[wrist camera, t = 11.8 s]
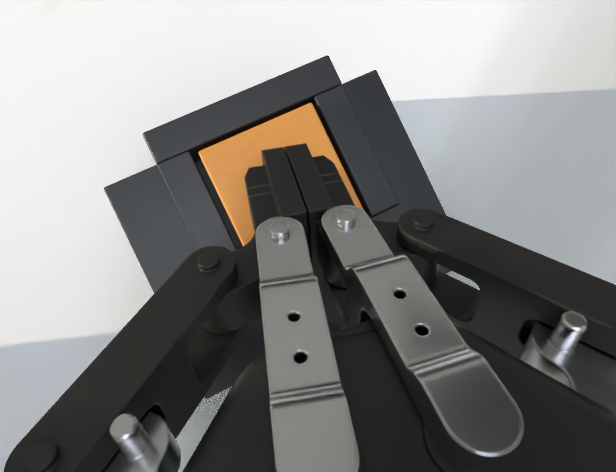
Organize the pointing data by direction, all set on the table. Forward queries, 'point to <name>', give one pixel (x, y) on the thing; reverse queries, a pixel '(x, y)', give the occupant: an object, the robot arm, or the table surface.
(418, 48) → the table surface
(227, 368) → the charcoal button base
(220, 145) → the amber key
